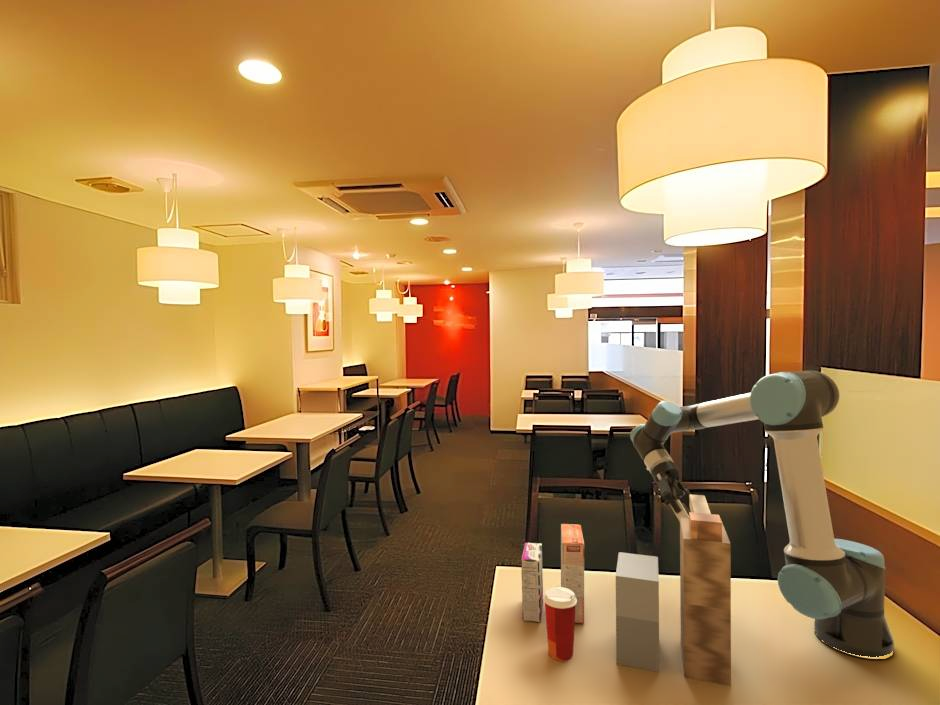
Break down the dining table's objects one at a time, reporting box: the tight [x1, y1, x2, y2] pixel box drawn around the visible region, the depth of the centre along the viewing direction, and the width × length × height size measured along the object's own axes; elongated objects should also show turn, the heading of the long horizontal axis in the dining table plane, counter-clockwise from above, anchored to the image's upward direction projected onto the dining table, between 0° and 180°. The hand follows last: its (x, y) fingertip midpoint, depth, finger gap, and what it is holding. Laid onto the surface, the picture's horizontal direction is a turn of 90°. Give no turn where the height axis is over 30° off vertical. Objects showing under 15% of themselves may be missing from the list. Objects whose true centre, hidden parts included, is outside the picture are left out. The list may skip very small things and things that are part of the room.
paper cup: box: [543, 586, 577, 662], centre depth 117 cm, size 8×8×14 cm
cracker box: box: [560, 523, 585, 624], centre depth 136 cm, size 14×6×21 cm, turn 171°
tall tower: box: [679, 518, 732, 686], centre depth 113 cm, size 9×13×30 cm
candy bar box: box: [520, 542, 544, 623], centre depth 136 cm, size 11×5×16 cm, turn 168°
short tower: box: [615, 551, 660, 673], centre depth 118 cm, size 9×13×20 cm
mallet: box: [688, 493, 723, 542], centre depth 117 cm, size 6×22×4 cm, turn 161°
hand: (700, 530), depth 134 cm, fingers open, 13 cm apart
